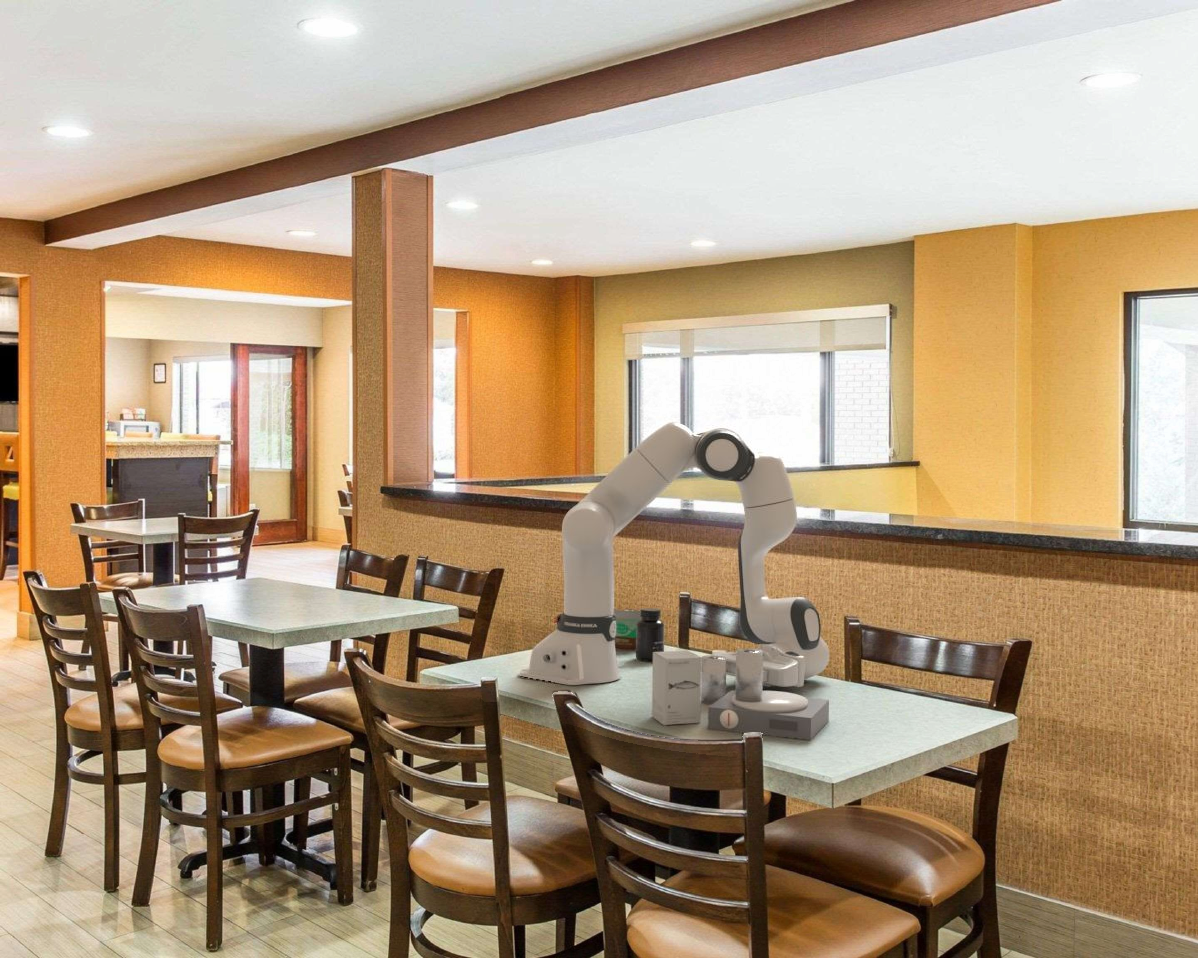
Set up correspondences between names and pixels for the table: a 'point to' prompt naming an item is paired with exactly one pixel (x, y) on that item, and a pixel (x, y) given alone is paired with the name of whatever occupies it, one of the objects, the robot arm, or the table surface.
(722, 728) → the dial scale
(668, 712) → the supplement box
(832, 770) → the table surface
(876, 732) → the table surface
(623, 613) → the food container
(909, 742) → the table surface
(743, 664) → the cylinder
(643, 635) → the supplement bottle
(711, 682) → the cylinder
